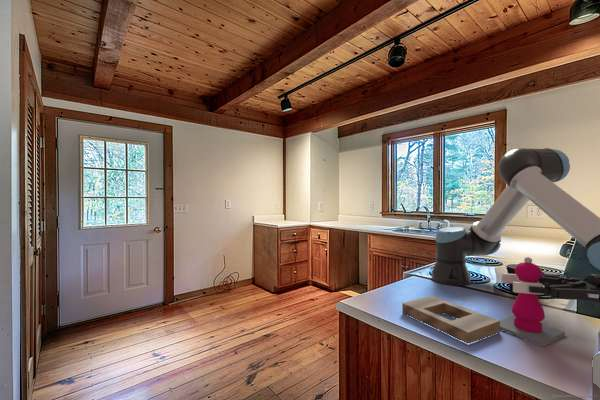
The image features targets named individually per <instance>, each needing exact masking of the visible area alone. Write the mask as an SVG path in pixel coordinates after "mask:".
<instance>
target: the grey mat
mask: <svg viewBox="0 0 600 400" xmlns="http://www.w3.org/2000/svg"><path fill="white" fill-rule="evenodd" d="M515 317H516V316H515V315H514V314H513V315H512V316H509V317H507V318H503V319H501V320H499V321H500V331H502V330H503V331H502V332H504V331H505V333H507V332H509V333H511V334H510V335H512V334H513V335H512V336H514V335H516V336H515V337H517V336H518V337H517V338H519V337H521V338H520V339H522V338H523V340H524V339H526V340H525V341H527V340H528V341H527V342H529V341H531V342H530V343H532V342H534V343H533V344H535V343H536V344H535V345H537V344H539V345H538V346H540V345H541V346H540V347H542V346H543V347H544V345H545V346H547V345H549V344H551V343H553V342H555V341H556V339H557V340H559V339H560V337H561V338H563V337H565V336H566V331H564V330H561V329H558V328H554V327H553V326H552V327H551V326H549V325H546V324H543V323H541V324H542V332H539V333H533V332H527V331H524V330H521V329H519V328H517V327H515V325H514V318H515ZM509 333H508V334H509ZM564 335H565V336H564ZM562 336H563V337H562ZM558 338H559V339H558ZM550 342H551V343H550ZM548 343H549V344H548ZM546 344H547V345H546Z"/></svg>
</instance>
